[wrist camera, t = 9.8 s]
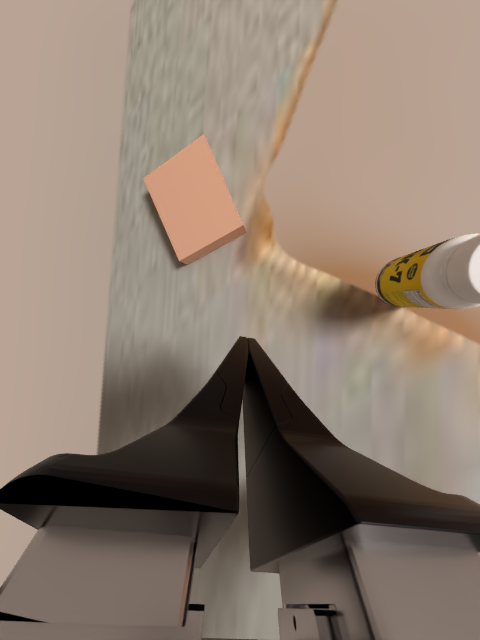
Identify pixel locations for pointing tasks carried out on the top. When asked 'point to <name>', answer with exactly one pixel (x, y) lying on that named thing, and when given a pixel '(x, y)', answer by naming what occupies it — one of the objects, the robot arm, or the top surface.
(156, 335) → the top surface
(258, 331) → the top surface
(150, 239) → the top surface
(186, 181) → the tile
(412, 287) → the supplement bottle
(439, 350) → the top surface
